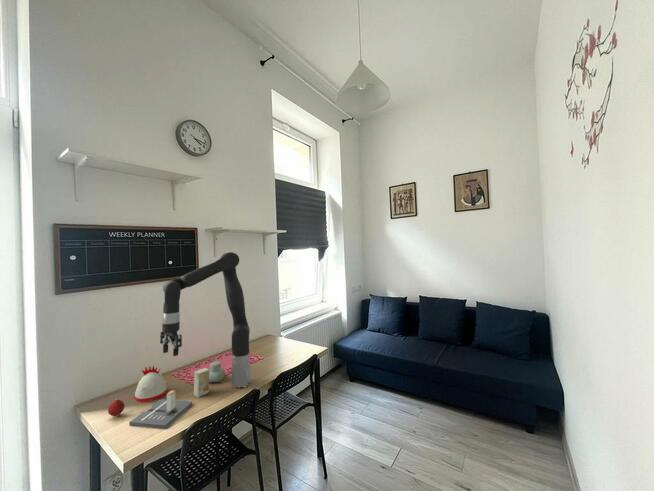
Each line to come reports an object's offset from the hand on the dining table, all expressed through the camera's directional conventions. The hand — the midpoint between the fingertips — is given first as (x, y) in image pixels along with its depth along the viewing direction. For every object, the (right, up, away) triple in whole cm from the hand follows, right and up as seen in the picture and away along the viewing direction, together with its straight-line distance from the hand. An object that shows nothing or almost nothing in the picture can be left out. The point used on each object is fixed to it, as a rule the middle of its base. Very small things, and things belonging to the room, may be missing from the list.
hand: (170, 354), depth 132 cm
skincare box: (+12, -25, +8) cm, 28 cm away
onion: (-18, -24, -11) cm, 32 cm away
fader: (+6, -22, -10) cm, 25 cm away
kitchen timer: (-15, -25, +7) cm, 30 cm away
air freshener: (+13, -25, +23) cm, 36 cm away
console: (+2, -24, -10) cm, 26 cm away
